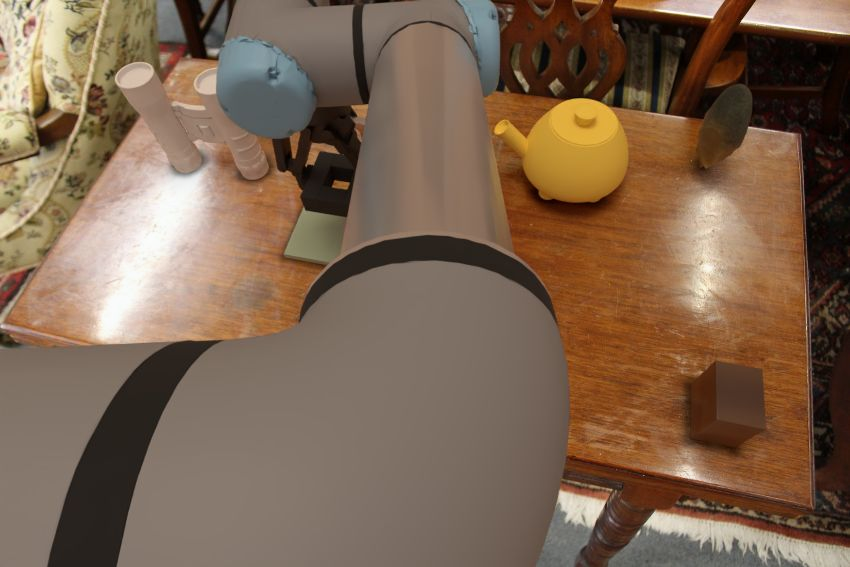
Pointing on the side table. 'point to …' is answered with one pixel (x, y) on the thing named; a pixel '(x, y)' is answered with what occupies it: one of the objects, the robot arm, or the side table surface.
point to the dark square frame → (329, 185)
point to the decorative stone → (724, 125)
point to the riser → (727, 404)
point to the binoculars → (189, 121)
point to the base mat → (316, 238)
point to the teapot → (572, 151)
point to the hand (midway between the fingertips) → (346, 207)
